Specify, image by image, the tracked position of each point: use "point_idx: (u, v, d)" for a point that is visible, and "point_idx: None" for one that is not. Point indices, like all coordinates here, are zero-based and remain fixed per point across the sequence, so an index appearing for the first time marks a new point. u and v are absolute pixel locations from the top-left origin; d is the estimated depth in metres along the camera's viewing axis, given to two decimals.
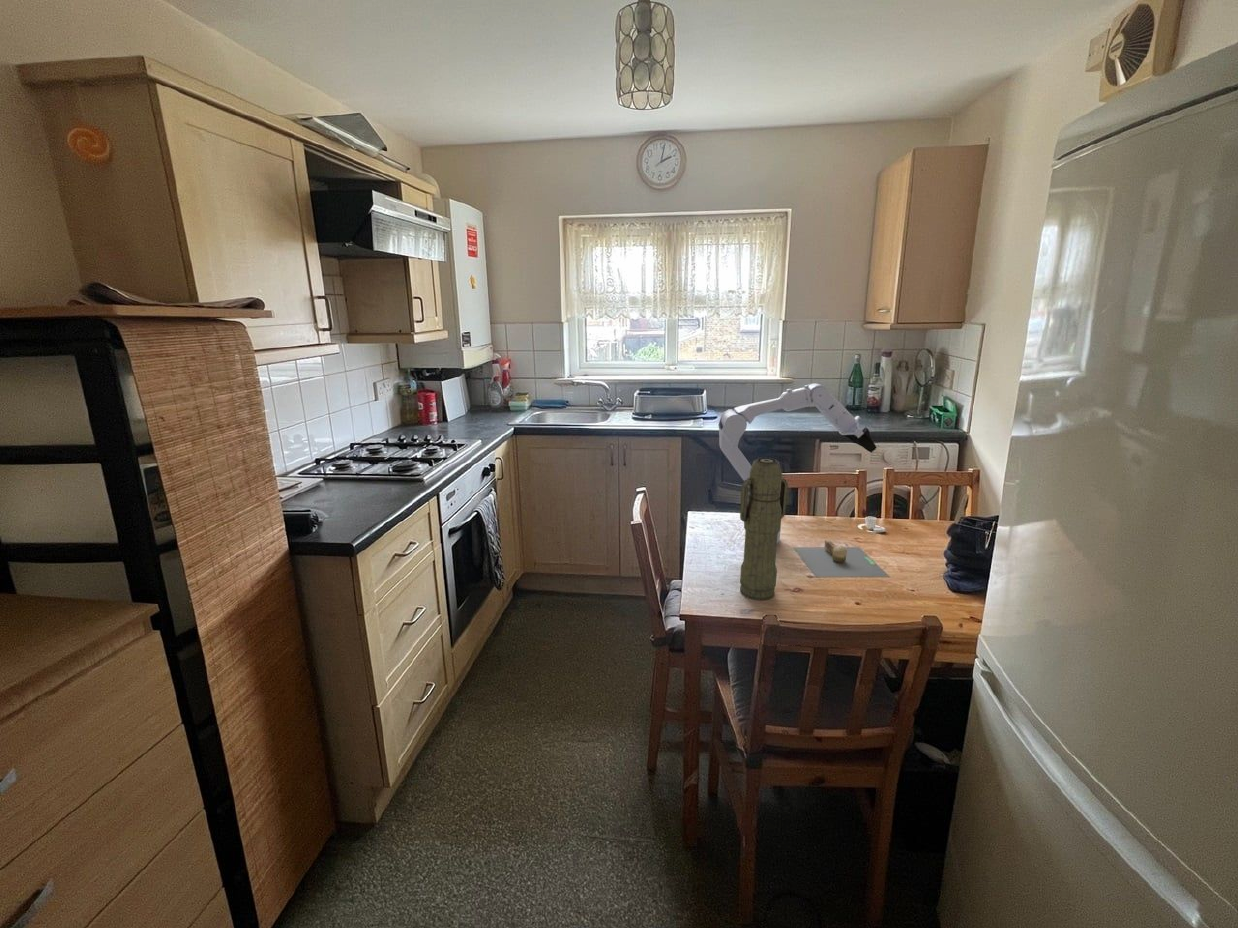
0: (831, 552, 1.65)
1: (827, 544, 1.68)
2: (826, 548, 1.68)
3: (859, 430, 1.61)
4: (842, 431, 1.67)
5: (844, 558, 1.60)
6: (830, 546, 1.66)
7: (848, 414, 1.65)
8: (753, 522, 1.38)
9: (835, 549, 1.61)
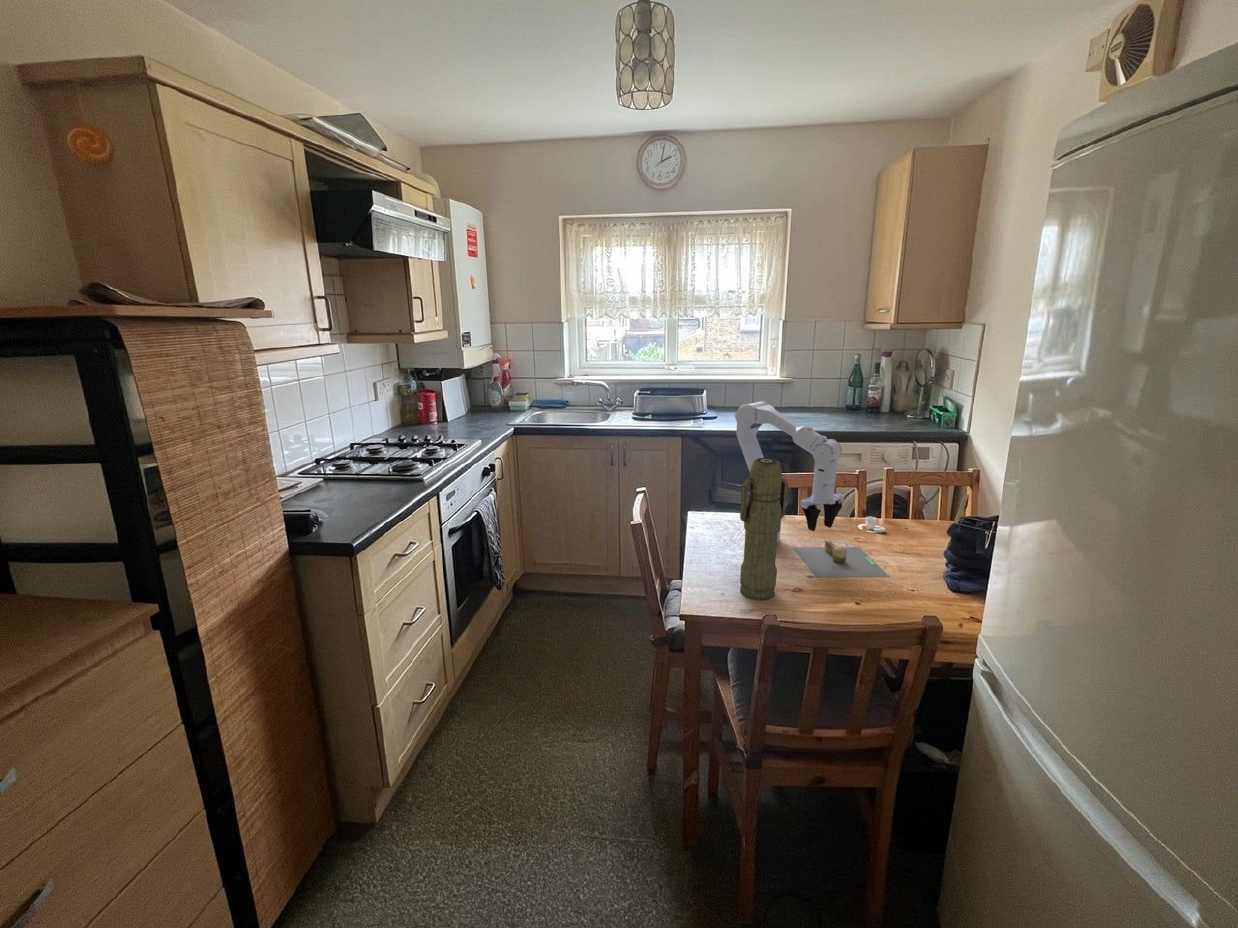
0: (831, 552, 1.65)
1: (827, 544, 1.68)
2: (826, 548, 1.68)
3: (804, 503, 1.59)
4: None
5: (844, 558, 1.60)
6: (830, 546, 1.66)
7: (824, 490, 1.59)
8: (753, 522, 1.38)
9: (835, 549, 1.61)
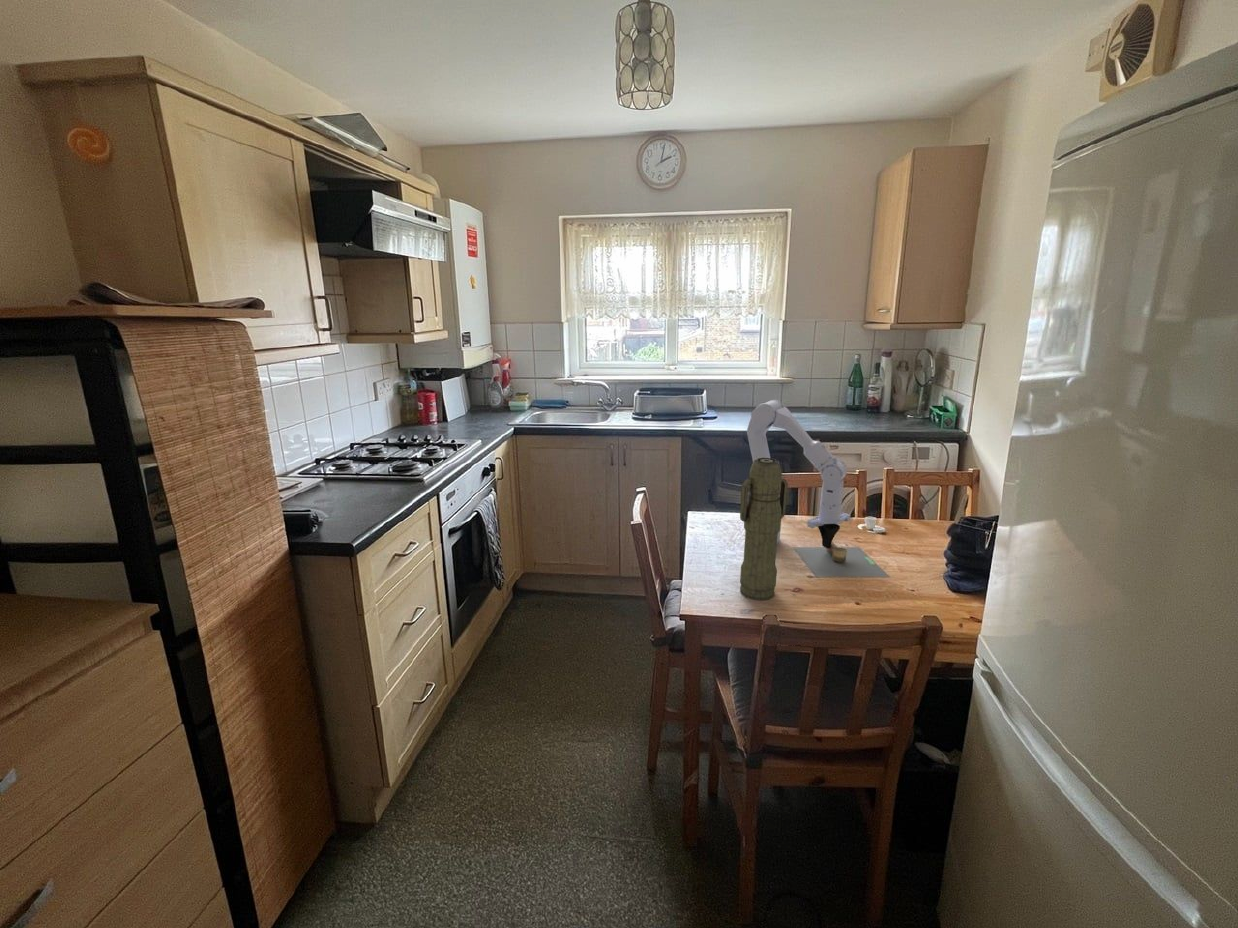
0: (831, 552, 1.65)
1: None
2: None
3: (811, 523, 1.62)
4: None
5: (844, 558, 1.60)
6: (831, 546, 1.66)
7: (831, 510, 1.62)
8: (753, 522, 1.38)
9: (835, 549, 1.61)
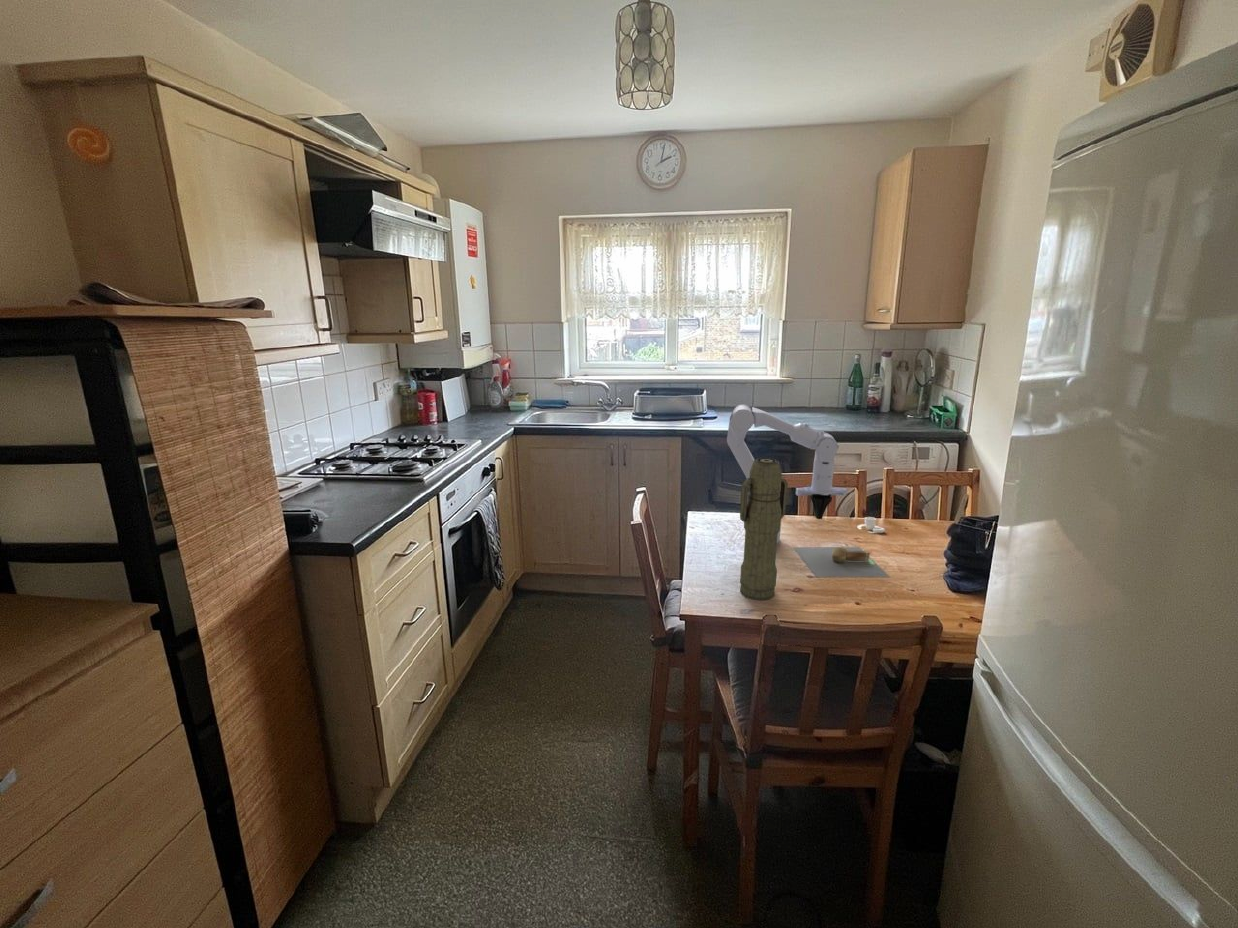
0: None
1: None
2: None
3: (797, 490, 1.70)
4: None
5: (834, 557, 1.61)
6: None
7: (818, 480, 1.67)
8: (753, 522, 1.38)
9: (839, 548, 1.62)
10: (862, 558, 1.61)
